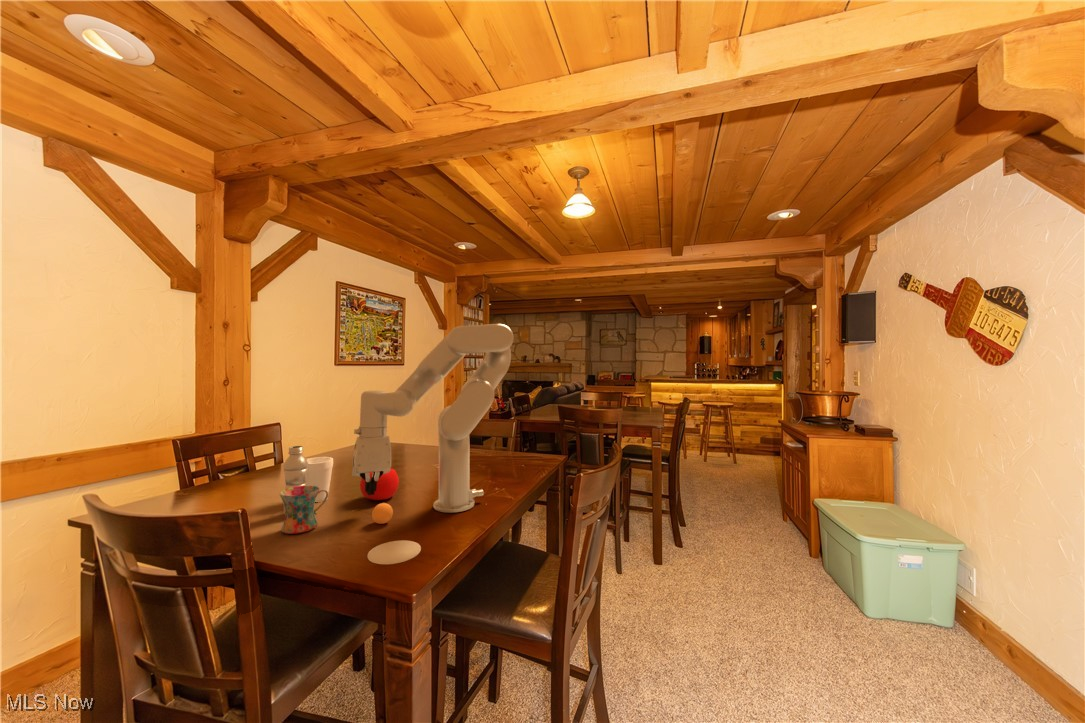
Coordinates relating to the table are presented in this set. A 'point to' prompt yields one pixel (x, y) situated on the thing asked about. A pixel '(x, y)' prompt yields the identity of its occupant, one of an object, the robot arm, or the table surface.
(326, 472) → the foam cup
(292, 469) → the plastic bottle
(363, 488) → the tomato
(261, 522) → the table surface
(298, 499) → the mug
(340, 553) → the table surface
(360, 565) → the table surface
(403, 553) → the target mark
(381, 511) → the ball
